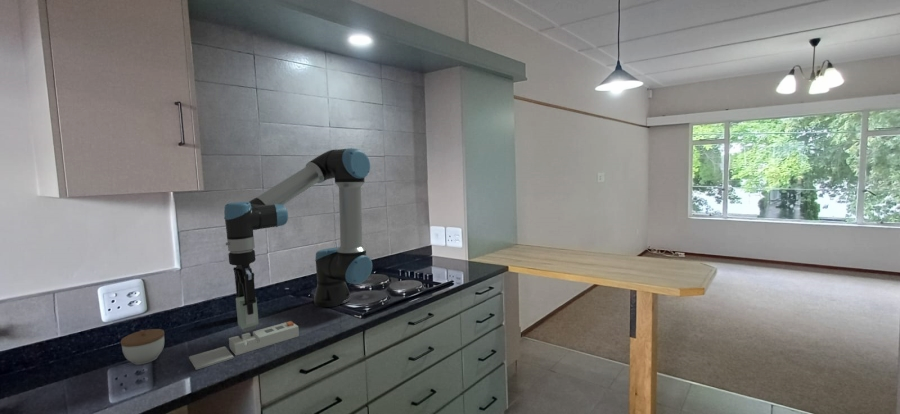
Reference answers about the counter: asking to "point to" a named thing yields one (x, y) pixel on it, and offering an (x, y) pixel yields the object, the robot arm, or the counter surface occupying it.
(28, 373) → the counter surface
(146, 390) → the counter surface
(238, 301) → the block
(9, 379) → the counter surface
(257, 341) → the power strip
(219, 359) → the mat
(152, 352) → the lidded jar
